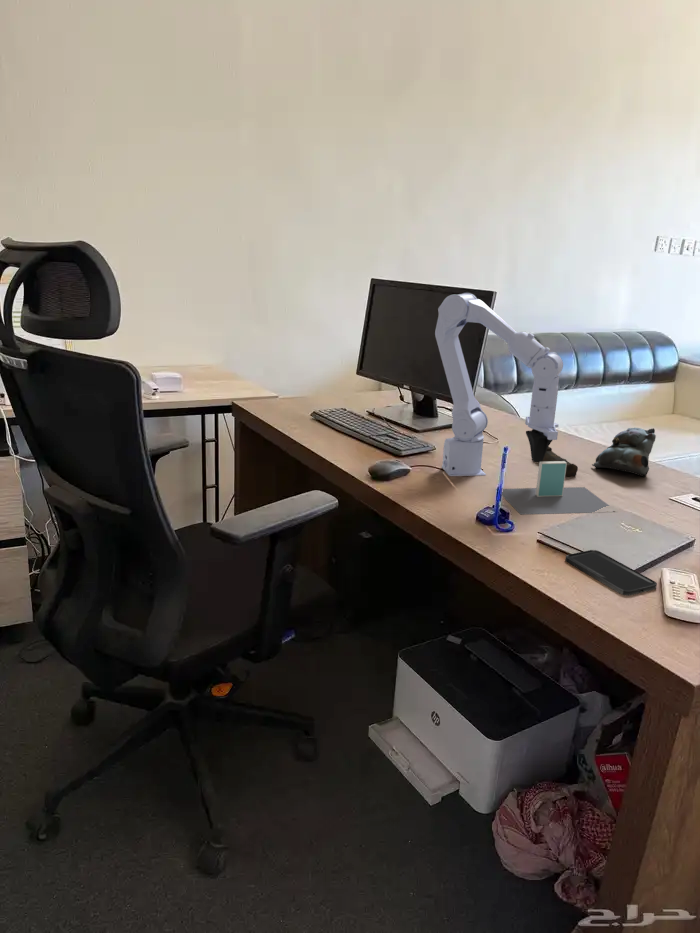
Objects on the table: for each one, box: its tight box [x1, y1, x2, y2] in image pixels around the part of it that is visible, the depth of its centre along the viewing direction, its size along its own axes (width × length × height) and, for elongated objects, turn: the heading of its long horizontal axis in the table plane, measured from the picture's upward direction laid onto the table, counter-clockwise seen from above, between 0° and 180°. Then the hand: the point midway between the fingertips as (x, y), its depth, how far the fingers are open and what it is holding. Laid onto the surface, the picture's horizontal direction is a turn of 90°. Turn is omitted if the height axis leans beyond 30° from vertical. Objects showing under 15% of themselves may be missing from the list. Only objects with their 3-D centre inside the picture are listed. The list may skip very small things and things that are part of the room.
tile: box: [535, 461, 567, 497], centre depth 154 cm, size 6×1×8 cm, turn 97°
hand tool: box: [542, 445, 579, 478], centre depth 177 cm, size 19×4×5 cm, turn 8°
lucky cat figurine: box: [591, 427, 657, 478], centre depth 174 cm, size 15×12×14 cm
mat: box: [495, 486, 610, 516], centre depth 153 cm, size 22×16×1 cm
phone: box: [565, 549, 658, 596], centre depth 119 cm, size 8×1×15 cm
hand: (537, 461), depth 162 cm, fingers closed
